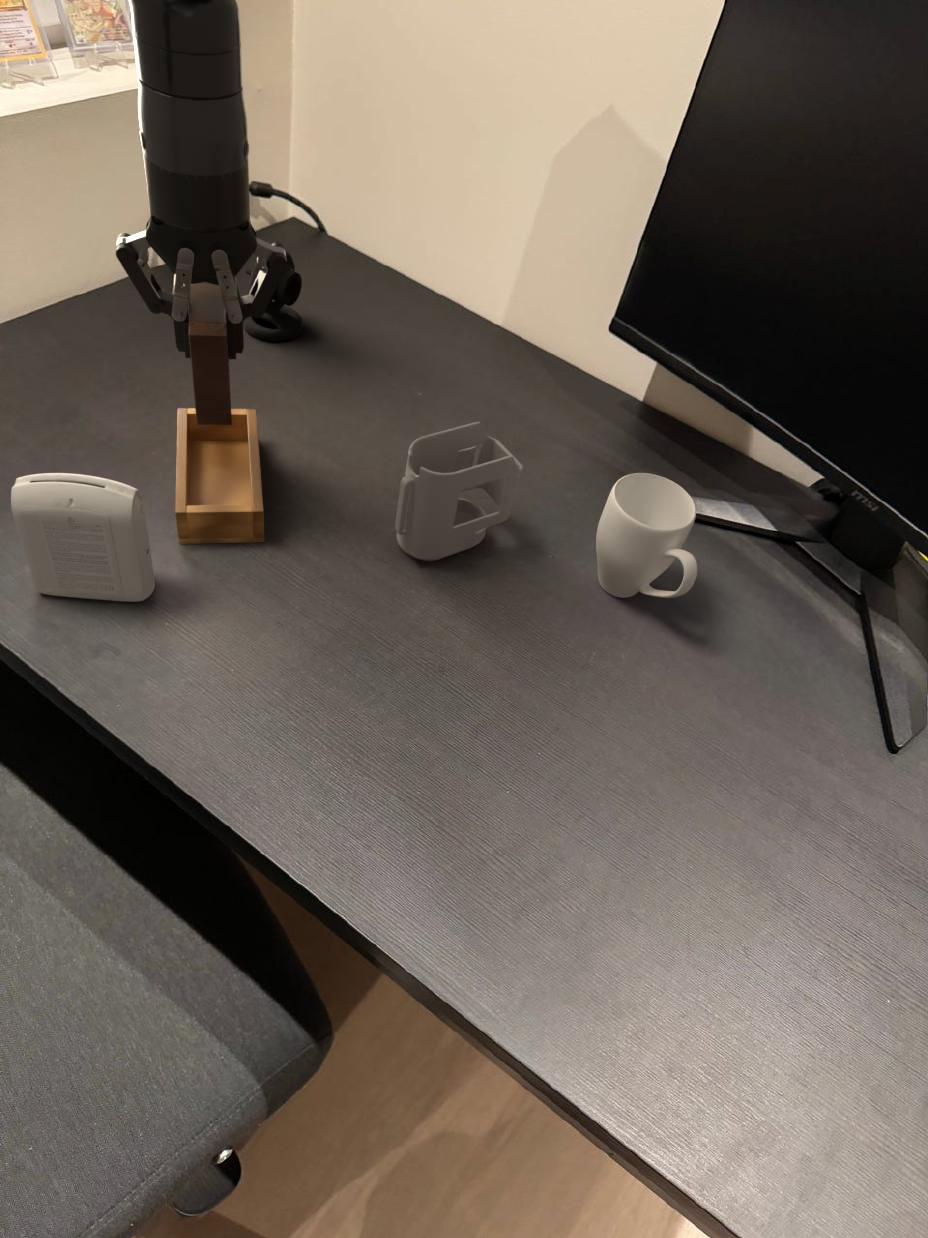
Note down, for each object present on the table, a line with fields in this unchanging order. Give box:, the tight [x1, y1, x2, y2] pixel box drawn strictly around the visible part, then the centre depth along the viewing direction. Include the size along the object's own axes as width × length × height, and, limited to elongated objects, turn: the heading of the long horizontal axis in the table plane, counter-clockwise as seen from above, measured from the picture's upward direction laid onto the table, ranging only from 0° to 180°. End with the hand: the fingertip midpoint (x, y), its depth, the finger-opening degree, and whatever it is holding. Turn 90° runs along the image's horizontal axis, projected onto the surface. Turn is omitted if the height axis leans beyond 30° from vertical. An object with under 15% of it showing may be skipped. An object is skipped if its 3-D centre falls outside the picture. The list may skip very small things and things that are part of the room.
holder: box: [174, 407, 265, 545], centre depth 86 cm, size 8×16×4 cm, turn 11°
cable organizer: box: [394, 420, 524, 562], centre depth 83 cm, size 7×12×12 cm, turn 123°
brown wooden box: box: [188, 282, 232, 425], centre depth 75 cm, size 3×10×9 cm, turn 11°
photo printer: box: [10, 472, 156, 603], centre depth 72 cm, size 10×4×12 cm, turn 92°
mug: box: [595, 472, 698, 599], centre depth 82 cm, size 12×8×11 cm
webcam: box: [243, 250, 304, 342], centre depth 104 cm, size 8×8×10 cm
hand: (210, 352), depth 75 cm, fingers closed on brown wooden box, 3 cm apart
